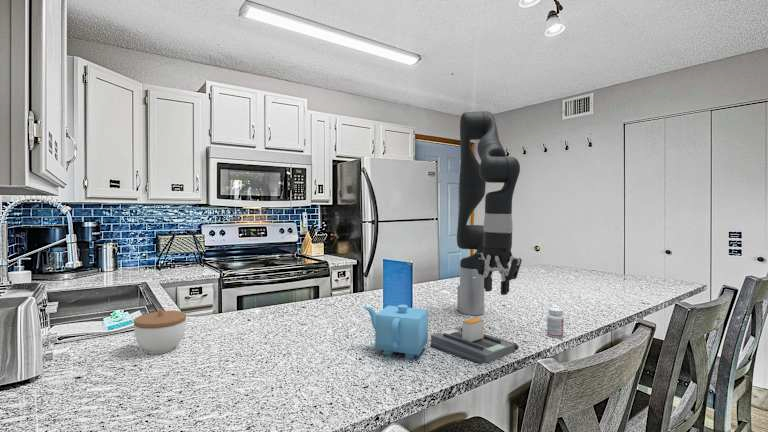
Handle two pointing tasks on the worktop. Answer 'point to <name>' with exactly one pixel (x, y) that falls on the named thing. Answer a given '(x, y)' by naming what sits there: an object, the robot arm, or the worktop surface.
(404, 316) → the teapot
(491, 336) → the dark grey rod
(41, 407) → the worktop surface
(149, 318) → the lidded bowl
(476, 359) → the cord
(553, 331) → the pill bottle
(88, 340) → the worktop surface
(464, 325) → the grey orange rectangular block
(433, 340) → the panel
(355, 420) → the worktop surface
